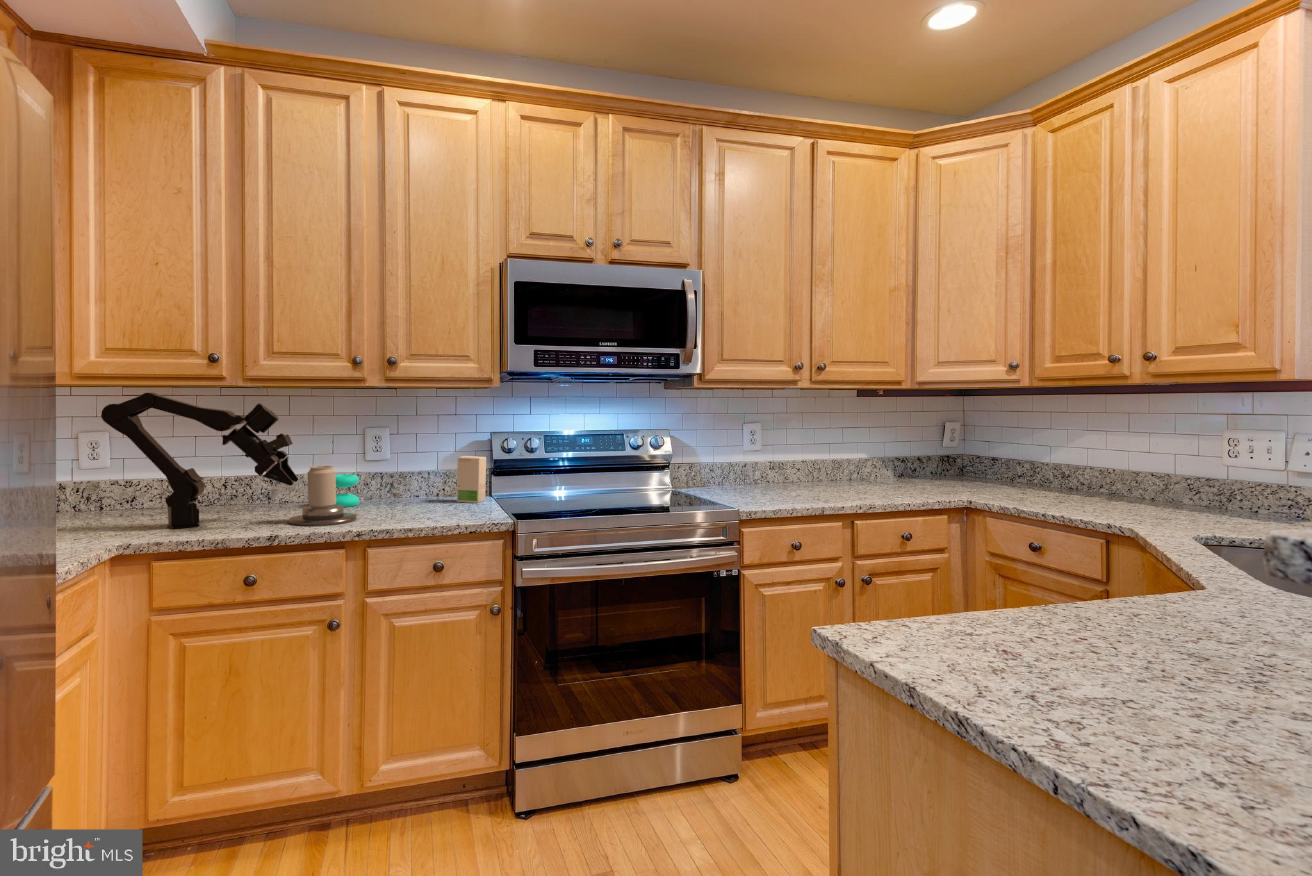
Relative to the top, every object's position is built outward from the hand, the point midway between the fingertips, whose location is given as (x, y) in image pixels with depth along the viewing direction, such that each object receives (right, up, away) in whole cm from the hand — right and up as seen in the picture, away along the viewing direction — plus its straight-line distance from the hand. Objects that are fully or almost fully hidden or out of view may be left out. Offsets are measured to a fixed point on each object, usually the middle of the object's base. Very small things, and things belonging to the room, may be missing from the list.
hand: (294, 482), depth 215 cm
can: (+7, -7, +3) cm, 10 cm away
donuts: (+1, -10, +32) cm, 33 cm away
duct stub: (+7, -11, +3) cm, 14 cm away
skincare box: (+40, -9, +43) cm, 59 cm away
